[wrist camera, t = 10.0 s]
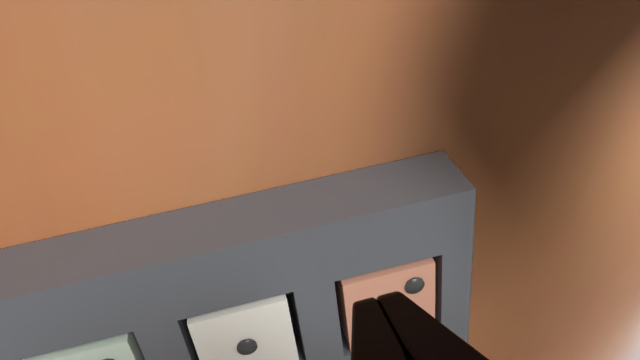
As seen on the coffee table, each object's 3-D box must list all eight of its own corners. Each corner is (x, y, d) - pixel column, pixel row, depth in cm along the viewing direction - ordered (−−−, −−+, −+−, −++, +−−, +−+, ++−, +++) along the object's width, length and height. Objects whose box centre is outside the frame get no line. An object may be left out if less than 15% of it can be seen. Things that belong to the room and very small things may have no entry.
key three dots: (413, 226, 24) (436, 264, 22) (414, 290, 26) (436, 329, 24) (327, 247, 24) (343, 287, 22) (336, 310, 26) (351, 352, 24)
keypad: (443, 150, 23) (476, 189, 21) (440, 318, 29) (466, 364, 26) (-43, 258, 21) (-71, 317, 18) (57, 419, 26) (46, 481, 24)
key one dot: (276, 259, 23) (287, 301, 21) (289, 322, 26) (300, 366, 23) (185, 281, 23) (187, 327, 21) (205, 344, 25) (209, 390, 23)
